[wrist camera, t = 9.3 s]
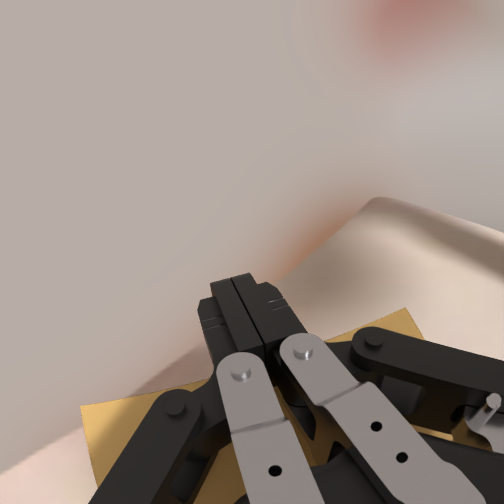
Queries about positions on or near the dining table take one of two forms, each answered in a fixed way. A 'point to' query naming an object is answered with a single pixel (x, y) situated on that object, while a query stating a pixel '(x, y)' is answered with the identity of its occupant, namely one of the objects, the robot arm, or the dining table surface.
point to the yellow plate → (226, 464)
